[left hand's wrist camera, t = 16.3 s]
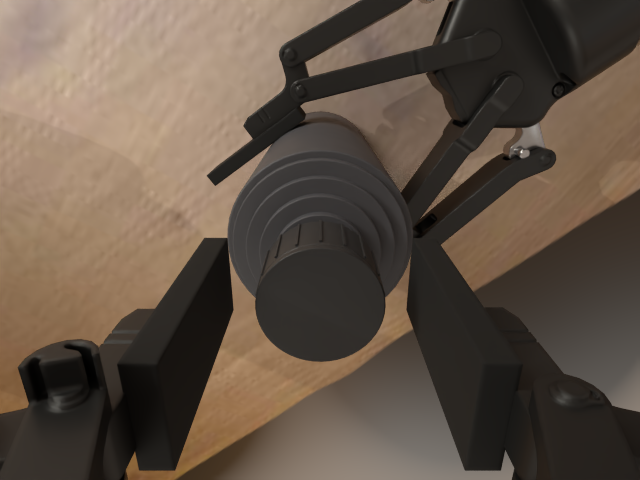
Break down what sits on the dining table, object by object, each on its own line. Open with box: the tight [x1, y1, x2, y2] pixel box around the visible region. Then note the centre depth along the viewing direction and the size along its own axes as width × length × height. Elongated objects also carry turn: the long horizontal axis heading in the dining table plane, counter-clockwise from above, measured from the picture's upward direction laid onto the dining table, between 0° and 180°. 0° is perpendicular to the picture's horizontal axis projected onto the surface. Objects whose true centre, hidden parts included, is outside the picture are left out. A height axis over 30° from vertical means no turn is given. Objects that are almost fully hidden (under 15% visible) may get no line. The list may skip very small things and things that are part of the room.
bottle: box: [228, 112, 413, 298], centre depth 23 cm, size 8×8×21 cm
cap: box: [255, 220, 385, 362], centre depth 14 cm, size 4×4×2 cm
